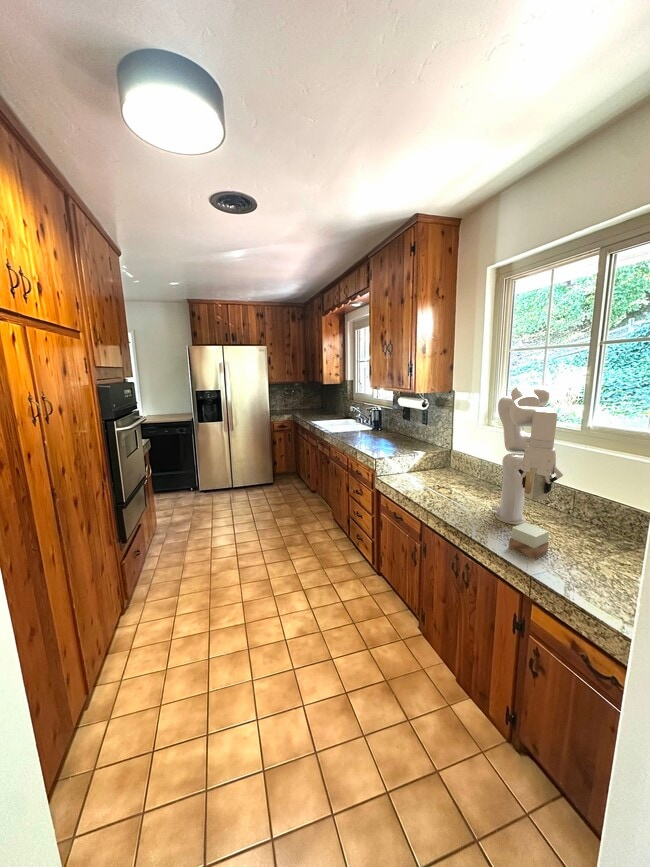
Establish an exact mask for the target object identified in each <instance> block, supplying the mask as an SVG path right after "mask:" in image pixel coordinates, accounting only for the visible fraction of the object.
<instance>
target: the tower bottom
mask: <svg viewBox="0 0 650 867" xmlns="http://www.w3.org/2000/svg"><path fill="white" fill-rule="evenodd" d="M508 542H509V543H508V549H509V550H512V551H513V552H516V553H518V554H521V555H523V556H525V557H528V558H530V559H532V560H535V561H536V560H537V559H539V558H541V557H542V556H544V555H545V554H546V553H548V551H549V544H550V542H549V541H548V542H547V543H545V544H543V545H541V546H539V547H536V548H532V547H530V546H528V545H526V544H523V543H521V542H519V541H516V540H514V539H512V538H511V537H510V538H509V541H508Z"/></svg>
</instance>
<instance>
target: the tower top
mask: <svg viewBox="0 0 650 867" xmlns="http://www.w3.org/2000/svg"><path fill="white" fill-rule="evenodd" d="M549 533H550V531H549V530H545V529H544V528H541V527H539V526H536V525H533V524H531V523H528V522H527V521H526V522H525V523H523V524H520V525H515V526H513V527H512V528H511V535H510V536H511V537H510V538H512V539H514V540H516V541H519V542H521V543H523V544H526V545H528V546H530V547H532V548H536V547H539V546H541V545H543V544H545V543H547V542H549Z"/></svg>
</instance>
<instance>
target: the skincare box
mask: <svg viewBox="0 0 650 867" xmlns="http://www.w3.org/2000/svg"><path fill="white" fill-rule="evenodd" d="M546 482H547V481H546V479H545V476H540V475H537V468H532V467H530V473H527V472H526V481H525V490H524V496H525V498H527V499H529V500H532V501H533V500H546V499H547V497H548V496H547V494H548V493H547V494H545V493H544V486H545V483H546Z"/></svg>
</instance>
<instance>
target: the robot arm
mask: <svg viewBox="0 0 650 867" xmlns="http://www.w3.org/2000/svg"><path fill="white" fill-rule="evenodd" d="M549 399H550V392H549V389H548V388H547V387H546V386H544V385H519V386H516V387H514V388H513V389H512V390H511V394H510V396H509V395H508V396H503V397H501V398H500V399H499V400H498V403H497V411H498V417H499V419H500V422H501V423H502V427H503V439H504V448H505V450H506V451H507V452H509V453H507V454H505V455H504V456H503V458H502V485H501V493H500V504H499V505H496V504H492V505H491V510H492V511H496V513H495V515H494V516H495V518H496V519H497V520H498V521H500V522H501V523H505V524H510V525H515V526H518V525H520V524H523V523H525V522H526V523H527V519H526V517H525V516H523V513H524V505H525V498H526V496H524V490H525V481H526V472H527V473H530V467H532V468H537V475H540V476H545V479H546V481H547V482H546V483H545V486H544V493H545V494H549V493H550V492H551V491H552V484H553V483H554V482H556V481H558V480H559V479H560V478H562V477H564V475H563V473H562V472H561V471H560V470H559V469H558V468H557V466H556V464H557V461H556V460H557V459H556V458H557V456H556V449H555V448H554V445H555V444H554V443H555V436H556V430H557V422H558V413H557V412H556V411H554V410H553V409H552V408H550V407H546V405H547V404H548V402H549ZM525 427H531V428H530V432H525V429H524V428H525ZM553 475H554V476H553Z"/></svg>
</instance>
